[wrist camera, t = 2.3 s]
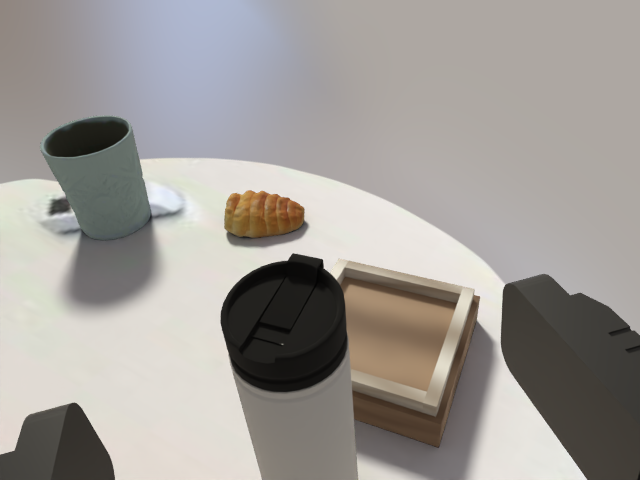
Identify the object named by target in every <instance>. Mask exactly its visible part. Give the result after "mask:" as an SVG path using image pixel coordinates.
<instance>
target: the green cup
mask: <svg viewBox="0 0 640 480" xmlns="http://www.w3.org/2000/svg"><path fill="white" fill-rule="evenodd" d="M40 149H41V152H42V154H43V156H44V158H45V159H46V161H47V163H48V165H49V167H50V169H51V170H52V172H53V174H54V176H55V177H56V179H57V181H58V182H59V184H60V186H61V188H62V190H63V191H64V192H65V194H66V199H67V201H68V202H69V203H70V205H71V207H72V209H73V211H74V212H75V215H76V218H77V220H78V223H79V225H80V227H81V228H82V230H83V232H84V233H85V234H86V235H87V236H89V237H90V238H93V239H97V240H112V239H117V238H121V237H124V236H127V235H129V234H132V233H134V232H136V231H137V230H139V229H140V228H142V227H143V226H144V225H145V224H146V223H147V222H148V220H149V218H150V216H151V209H150V205H149V201H148V196H147V192H146V187H145V182H144V180H143V178H142V175H143V174H142V169H141V165H140V160H139V156H138V153H137V148H136V144H135V139H134V135H133V130H132V127H131V124H130V123H129V122H128V121H127V120H126V119H123V118H121V117H117V116H93V117H87V118H83V119H78V120H75V121H72V122H69V123H66V124H64V125H62V126H59V127H58V128H56V129H54V130H53V131H51V132H50V133H48V134H47V135H46V136H45V137H44V138H43V140H42V142H41V145H40Z"/></svg>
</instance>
